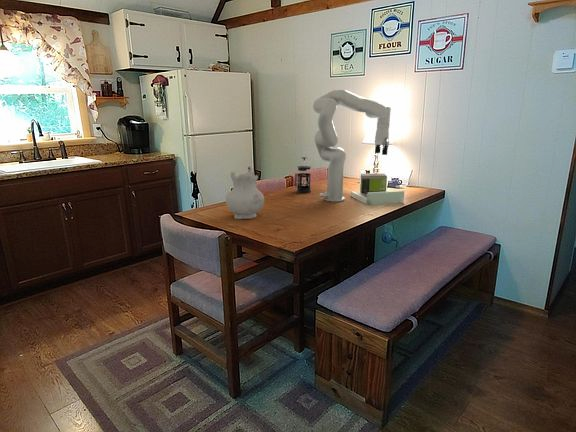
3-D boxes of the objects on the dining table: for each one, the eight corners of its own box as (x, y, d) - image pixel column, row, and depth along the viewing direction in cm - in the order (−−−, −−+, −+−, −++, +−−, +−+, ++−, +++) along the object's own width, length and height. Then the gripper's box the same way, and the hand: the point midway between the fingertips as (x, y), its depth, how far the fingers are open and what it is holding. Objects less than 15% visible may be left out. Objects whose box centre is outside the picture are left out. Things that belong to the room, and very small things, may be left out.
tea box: (383, 196, 244) (385, 173, 240) (385, 199, 234) (387, 175, 230) (359, 195, 245) (360, 172, 241) (360, 199, 235) (362, 175, 231)
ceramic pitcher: (232, 212, 210) (227, 167, 203) (267, 209, 209) (263, 164, 202) (225, 223, 190) (218, 174, 183) (264, 221, 189) (259, 171, 182)
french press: (314, 191, 256) (315, 157, 250) (307, 194, 248) (307, 158, 242) (299, 189, 262) (299, 155, 256) (291, 192, 255) (292, 157, 248)
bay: (367, 205, 221) (368, 193, 219) (350, 196, 243) (351, 185, 241) (403, 202, 227) (404, 191, 225) (383, 194, 249) (384, 183, 247)
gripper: (371, 125, 246) (369, 152, 251) (383, 126, 230) (381, 155, 235) (382, 125, 248) (380, 152, 253) (395, 126, 232) (392, 155, 236)
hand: (381, 153), depth 244 cm, fingers open, 9 cm apart
